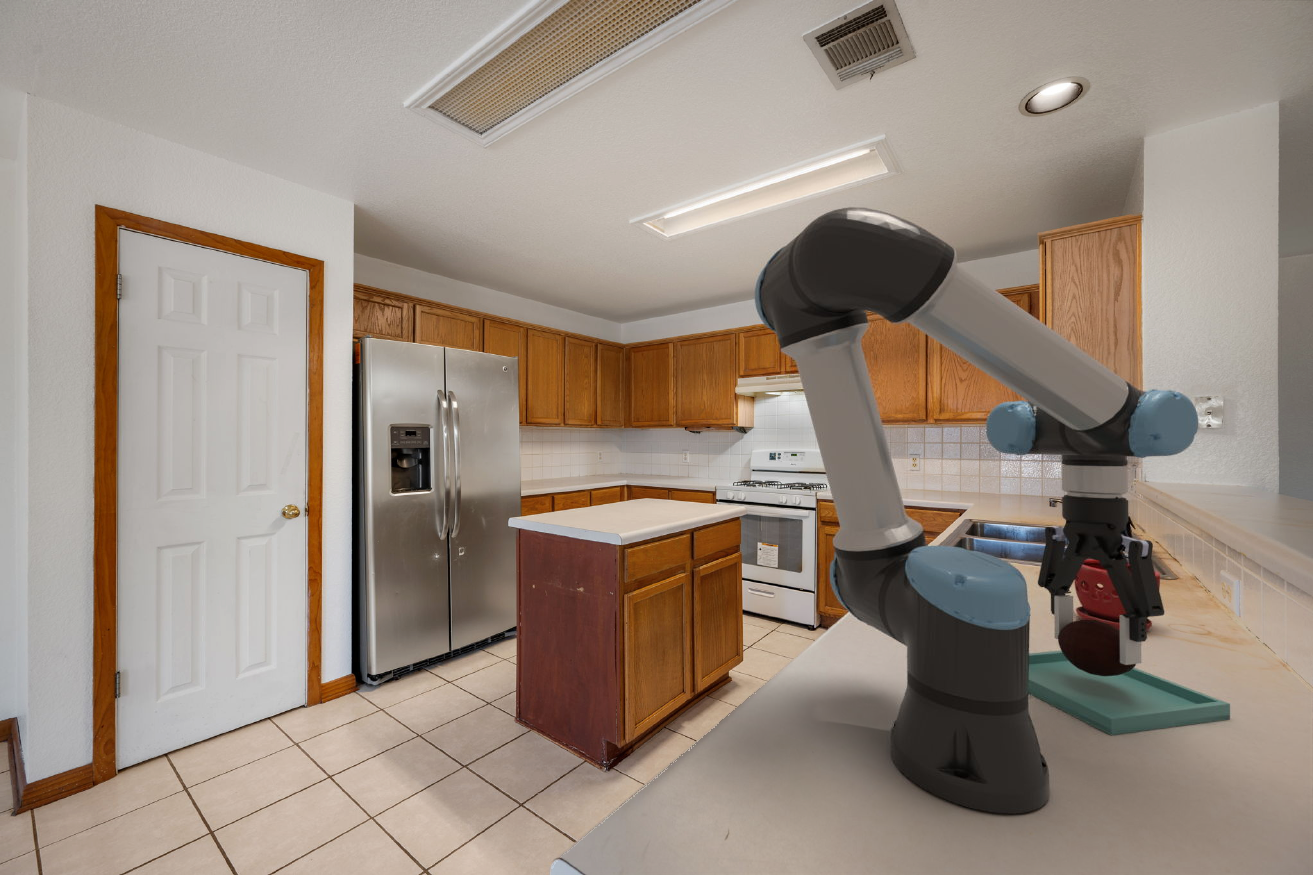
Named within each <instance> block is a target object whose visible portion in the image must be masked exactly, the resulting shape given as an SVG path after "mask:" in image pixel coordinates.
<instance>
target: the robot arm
mask: <svg viewBox="0 0 1313 875" xmlns="http://www.w3.org/2000/svg"><path fill="white" fill-rule="evenodd" d="M957 258H958V255H957V250H956V249H955V248H954V247H953V246H951V245H949V243H948V242H945V241H944V240H943V239H941V238H939V236H938V237H937V236H936V235H935V234H933V233H931V232H930V231H928V230H927V229H925V228H924V227H921V226H919V225H917V224H916V223H913V222H911V221H909V220H907V219H904V218H901V217H900V216H897V215H894V214H892V213H889V212H885V211H882V210H878V209H872V208H868V207H855V206H854V207H853V206H851V207H842V208H838V209H833V210H831V211H829V212H826V213H824V214H822V215H820V216H818V217H817V218H816V219H814V220H813V221H811V222H810V223H809V224H808V225H807V226H806V227H804V228H803V230H802V231H801V232H800V233H799V234H798V235H797V236H796V237H794V238H793V239H792V240H791V241H790V242H789V243H787V244H786V245H784V246H783V247H781V248H780V249H779V250H777V251H776V252H775V253H774V254H773V255H772V256H771V257H770V259H769V260H768V261H767V262H766V264H765V266H764V267H763V269H762V270H761V271H760V274H759V275H758V277H757V280H756V283H755V284H756V285H755V289H754V303H755V308H756V311H757V314H758V316H759V319H760V320H761V321H762V323H763V324H764V325H765V327H767V328H768V329H770V330H771V331H773V332H774V333H775V334H776V337H777V341H778V344H779V348H780V352H781V353H783V354H784V355H786V356H788V357H790V358H791V359H793V360H794V361H795V363H796V367H797V371H798V374H799V378H800V382H801V385H802V389H803V393H804V397H805V400H806V404H807V407H808V413H809V415H810V418H811V422H812V427H813V430H814V433H815V438H816V442H817V445H818V448H819V452H820V457H821V460H822V464H823V467H824V470H825V475H826V479H827V482H828V487H829V489H830V494H831V496H832V497H831V498H832V500H833V504H834V508H835V511H836V516H837V520H838V523H839V529H838V531H837V532H836V534H835V535H834V536H833V539H832V545H833V549H834V555H833V556H834V558H833V560H832V561H831V562H830V565H829V566H830V567H829V581H830V586H831V588H832V589H831V590H832V591H833V593H834V596H835V597H836V599H837V601H838V602H839V603H840V605H842V607H843V608H845V610H847V611H848V612H849V613H850V614H851V615H852V616H853V617H855V618H856V619H857V620H859V621H860V622H862V623H865V624H866V625H867V626H870V627H871V628H874V629H876V630H878V631H879V632H881V633H883V634H885V635H886V636H888V637H890V638H892V639H894V640H896V642H899V643H900V644H901V645H904V646H905V647H906V664H907V665H906V669H907V671H906V673H907V677H906V681H907V682H906V689H905V692H904V695H903V698H902V701H901V704H900V707H899V710H898V714H897V718H896V720H895V721H894V723H893V725H892V727H891V730H890V757H891V759H892V761H893V763H894V764H895V766H896V768H898V770H899V771H900V772H901V773H902V774H903V775H904V776H905V777H906V778H908V779H909V780H910V781H911V782H913V783H914V784H916V785H917V786H919V787H920V788H921V789H923V790H925V791H927V792H929V793H930V794H933V795H934V796H936V797H939V798H941V799H943V800H945V801H948V802H950V803H954V804H956V805H959V806H962V807H967V808H970V809H973V810H979V811H983V812H989V813H995V814H1022V813H1024V814H1025V813H1028V812H1032V811H1035V810H1039V809H1040V808H1041V807H1043V806H1044V805H1045V804H1046V803H1047V802H1048V800H1049V798H1050V772H1049V770H1050V769H1049V767H1048V763H1047V760H1046V759H1045V756H1043V754H1042V752H1041V746H1040V742H1039V739H1038V737H1037V733H1036V730H1035V728H1034V724H1033V721H1032V717H1031V716H1030V710H1029V693H1028V683H1029V653H1030V630H1031V629H1030V627H1031V626H1030V622H1031V620H1030V619H1031V605H1030V603H1029V598H1028V596H1029V595H1028V586H1027V585H1028V584H1027V581H1026V578H1025V577H1024V575H1023V574H1022V572H1021V571H1020V570H1019V569H1018V568H1017V567H1016V566H1014V565H1013V564H1012V563H1010V562H1008V561H1006V560H1004V559H1002V558H1000V557H997V556H995V555H991V554H988V553H985V552H981V551H977V550H968V549H965V548H963V547H957V546H948V545H928V543H927V540H926V536H925V533H924V529H923V525H922V524H921V523H920V522H918V521H916V520H915V519H913V518H911V517H910V516H908V514H907V513H906V509H905V504H904V500H903V498H902V494H901V490H900V486H899V483H898V478H897V475H896V471H895V467H894V463H893V460H892V455H891V452H890V448H889V444H888V441H887V437H886V433H885V430H884V425H883V421H882V418H881V415H880V411H879V407H878V403H877V399H876V395H875V392H874V389H873V384H872V379H871V377H870V373H869V370H868V365H867V361H866V358H865V354H864V350H863V346H862V339H863V337H864V336H865V333H866V332H867V330H868V328H869V327H870V323H869V320H868V315H867V311H868V312H870V313H875V314H877V315H878V316H880V317H882V318H883V319H885V320H887V321H888V322H889V323H891V324H893V325H899V324H903V323H908V324H910V325H911V326H913V327H915V328H916V329H917V330H919V331H920V332H922V333H924V334H926V335H927V336H928V337H930V338H931V339H933V340H934V341H936V342H938V343H939V344H941V345H942V346H944V347H945V348H947V349H949V350H950V351H951V352H953V353H954V354H956V355H957V356H959V358H962V359H963V360H965V361H966V362H968V363H970V364H971V365H973V366H974V367H976V368H977V369H979V370H981V371H982V372H984V373H985V374H986V375H987V376H989V377H991V378H992V379H994V380H996V381H997V382H999V383H1000V384H1002V386H1004V387H1006V388H1009V390H1010V391H1013V393H1015V394H1017V395H1019V396H1020V397H1022V398H1023V399H1025V400H1016V401H1004V402H1002V403H999V404H998V405H996V406H994V408H993V409H992V410H991V411H990V413H989V414H988V416H987V419H986V423H985V425H986V428H985V430H986V431H985V433H986V437H987V440H988V443H989V444H990V445H991V446H992V448H994V450H996V451H997V452H999V453H1002V454H1006V455H1008V454H1009V455H1017V456H1025V455H1048V456H1049V455H1050V456H1051V455H1053V456H1054V455H1055V456H1058V455H1059V456H1061V490H1062V491H1063V492H1066V494H1064V495H1063V496H1061V516H1062V518H1063V519H1064V520H1065V524H1064V525H1063V526H1061V525H1060V526H1046V527H1045V529H1044V534H1045V546H1044V551H1043V555H1042V560H1041V565H1040V570H1039V574H1038V579H1037V585H1038V586H1039V587H1040V588H1044V589H1045V590H1047V591H1048V592H1049V594H1050V611H1051V615H1054V639H1056V640H1058V635H1059V632H1060V630H1061V629H1062V628H1063V627H1064V626H1065V625H1067V624H1069V623H1071V622H1074V595H1071V593H1072V591H1070V588H1071V587H1072V585H1073V584H1074V582H1075V578H1076V576H1077V574H1078V572H1079V570H1080V568H1081V567H1082V565H1083V563H1084V561H1085V560H1087V559H1092V560H1097V561H1099V562H1100V564H1101V566H1102V567H1103V568H1105V569H1106V571H1107V573H1108V575H1109V577H1110V580H1111V582H1112V584H1113V586H1114V588H1115V590H1116V593H1117V595H1118V597H1119V599H1120V601H1121V603H1122V605H1123V608H1124V610H1125V612H1126V613H1125V614H1122V615H1120V663H1122V664H1125V665H1130V664H1136V665H1138V664H1142V643H1143V642H1146V640H1147V638H1148V634H1147V633H1148V632H1147V630H1148V629H1147V618H1148V619H1149V618H1150V617H1160V616H1161V617H1162V616H1164V615H1165V609H1164V604H1163V600H1162V596H1161V592H1160V588H1159V587H1158V583H1157V579H1156V575H1155V571H1156V570H1155V568H1154V564H1153V560H1152V556H1153V547H1154V544H1153V542H1152V541H1151V540H1150V539H1149V540H1147V539H1144V540H1140V539H1136V538H1132V537H1130V536H1129V535H1128V532H1127V530H1126V526H1127V524H1128V522H1129V500H1128V499H1127V498H1126V497H1123V495H1125V494H1127V493H1128V492H1129V480H1128V478H1129V474H1128V473H1129V471H1128V465H1129V464H1128V463H1129V461H1128V457H1132V458H1133V457H1134V458H1135V457H1136V458H1138V459H1139V458H1140V459H1144V458H1148V457H1170V456H1175V455H1178V454H1181V453H1182V452H1184V451H1185V450H1187V449H1189V447H1190V446H1191V445H1192V444H1193V442H1194V439H1195V435H1197V433H1198V430H1199V415H1198V411H1197V409H1196V407H1195V405H1194V403H1193V402H1192V400H1191V399H1190V398H1189V397H1188V396H1187V395H1185V394H1183V393H1182V392H1180V391H1176V390H1168V389H1167V390H1158V389H1157V388H1155V389H1154V388H1153V389H1149V390H1148V391H1145V390H1140V389H1138V388H1137V387H1135V386H1134V385H1132V383H1129V382H1128V381H1127V380H1125V379H1124V378H1122V377H1121V376H1119V375H1118V374H1116V373H1115V372H1114V371H1113V370H1111V369H1109V367H1107V366H1105V365H1103V364H1102V363H1101V362H1100V361H1098V360H1096V359H1095V358H1093V357H1092V356H1090V355H1089V354H1088V353H1087V352H1085V351H1083V350H1082V349H1081V348H1079V347H1078V346H1077V345H1075V344H1074V343H1073V342H1071V341H1069V340H1067V339H1066V338H1065V337H1063V336H1062V335H1061V334H1059V333H1058V332H1056V331H1055V330H1054V329H1052V328H1050V327H1049V326H1047V325H1046V324H1045V323H1044V322H1042V321H1040V320H1039V319H1037V318H1036V317H1035V316H1033V315H1032V314H1030V313H1028V312H1027V311H1026V310H1024V309H1023V308H1021V307H1020V306H1019V305H1018V304H1016V303H1015V302H1013V301H1012V300H1010V299H1009V298H1007V297H1006V296H1004V295H1003V294H1002V293H1000V292H998V291H997V290H996V289H994V288H993V287H991V286H990V285H989V284H988V283H986V282H984V281H982V279H981V278H980V279H979V278H978V277H977V276H975V275H974V274H972V273H971V272H969V271H968V270H967V269H965V268H964V267H962V266H961V265H960V264H958V259H957ZM1066 540H1067V541H1066ZM1066 542H1068V544H1067V546H1066ZM1124 548H1125V549H1124ZM1123 549H1124V551H1123ZM1124 552H1125V553H1127V557H1126V555H1125V553H1124ZM1128 564H1129V566H1130V570H1131V573H1130V571H1129V569H1128V567H1127V565H1128ZM1131 574H1132V575H1131Z"/></svg>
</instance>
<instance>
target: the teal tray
mask: <svg viewBox="0 0 1313 875" xmlns="http://www.w3.org/2000/svg"><path fill="white" fill-rule="evenodd" d="M1028 695H1031V696H1034V697H1036V698H1037V699H1039V700H1041V701H1043V702H1045V703H1046V704H1047V703H1048V704H1049V705H1051V706H1053V707H1055V708H1057V709H1059V710H1061V711H1063V712H1065V713H1067V714H1069V715H1070V716H1073V717H1074V718H1077V719H1079V720H1081V721H1083V722H1085V723H1087V724H1088V725H1091V726H1092V727H1094V728H1096V729H1098V730H1101V731H1102V732H1105V733H1106V734H1109V735H1110V736H1117V735H1123V734H1131V733H1137V732H1145V731H1153V730H1161V729H1167V728H1174V727H1175V728H1176V727H1183V726H1189V725H1197V724H1204V723H1211V722H1212V723H1213V722H1218V721H1224V720H1226V721H1227V720H1230V719H1231V703H1229V702H1227V701H1225V700H1224V701H1223V700H1220V699H1218V698H1216V697H1213V696H1210V695H1208V694H1205V693H1202V692H1201V691H1197V690H1194V689H1192V688H1189V687H1187V686H1184V685H1181V684H1178V683H1176V682H1173V681H1171V680H1168V679H1165V678H1162V677H1160V676H1158V675H1156V674H1152V673H1150V672H1146V671H1143V670H1141V669H1138V668H1135V667H1134V668H1133V669H1131V670H1130V671H1129V672H1126V673H1123V674H1121V675H1117V676H1098V675H1093V674H1089V673H1087V672H1085V671H1082V670H1080V669H1078V668H1077V667H1075V666H1074V665H1073V664H1071V663H1070V662H1069V661H1068V660H1067V658H1066V657H1065V656H1064V654H1063V653H1062V651H1061V650H1054V651H1042V652H1041V651H1040V652H1032V653H1031V652H1029V683H1028Z"/></svg>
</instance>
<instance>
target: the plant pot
mask: <svg viewBox="0 0 1313 875" xmlns="http://www.w3.org/2000/svg"><path fill="white" fill-rule="evenodd" d="M1127 567H1128V569H1129V571H1130V573H1131V570H1130V566H1129V563H1128V565H1127ZM1154 571H1155V575H1156V579H1157V583H1158V587H1159V589H1160V587H1161V586H1160V585H1161V574H1160V573H1159V572H1158V571H1156V570H1154ZM1131 575H1132V574H1131ZM1099 585H1101V586H1102V587H1100V586H1099ZM1074 589H1075V593H1076V597H1077V599H1078V601H1079V604H1080V605H1081V606H1078V607H1076V609H1075V612H1076V614H1077V615H1078V616H1079V618H1081V620H1084V619H1088V620H1097V621H1101V622H1104V623H1108V624H1111V625H1112V626H1114V627H1116V628H1117V629H1119V630H1120V615H1122V614H1125V613H1126V612H1125V610H1124V608H1123V605H1122V603H1121V601H1120V599H1119V597H1118V595H1117V593H1116V590H1115V588H1114V586H1113V584H1112V582H1111V580H1110V577H1109V575H1108V573H1107V571H1106V569H1105V568H1103V567H1102V566H1101V564H1100V562H1099V561H1097V560H1094V559H1092V558H1088V559H1087V560H1085V561H1084V563H1083V565H1082V567H1081V568H1080V570H1079V572H1078V574H1077V576H1076V578H1075V580H1074ZM1152 625H1153V622H1152V620H1150V619H1149V617H1148V618H1147V630H1149V629H1150V628H1151V627H1152Z"/></svg>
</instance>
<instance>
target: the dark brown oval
mask: <svg viewBox="0 0 1313 875" xmlns="http://www.w3.org/2000/svg"><path fill="white" fill-rule="evenodd" d="M1057 640H1058V642H1057V643H1058V646H1059V648H1060V649H1059V650H1060V651H1062V653H1063V654H1064V656H1065V657H1066V658H1067V660H1068V661H1069V662H1070V663H1071V664H1073V665H1074V666H1075V667H1077V668H1078V669H1080V670H1082V671H1085V672H1087V673H1089V674H1093V675H1098V676H1117V675H1121V674H1123V673H1126V672H1129V671H1130V670H1131V669H1133V668H1135V667H1136V665H1137V664H1130V665H1125V664H1122V663H1120V630H1119V629H1117V628H1116V627H1114V626H1112V625H1111V624H1108V623H1104V622H1101V621H1097V620H1088V619H1084V620H1083V619H1078V620H1075V621H1074V620H1073V622H1071V623H1069V624H1067V625H1065V626H1064V627H1063V628H1062V629H1061V630H1060V632H1059V635H1058V639H1057Z"/></svg>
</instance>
